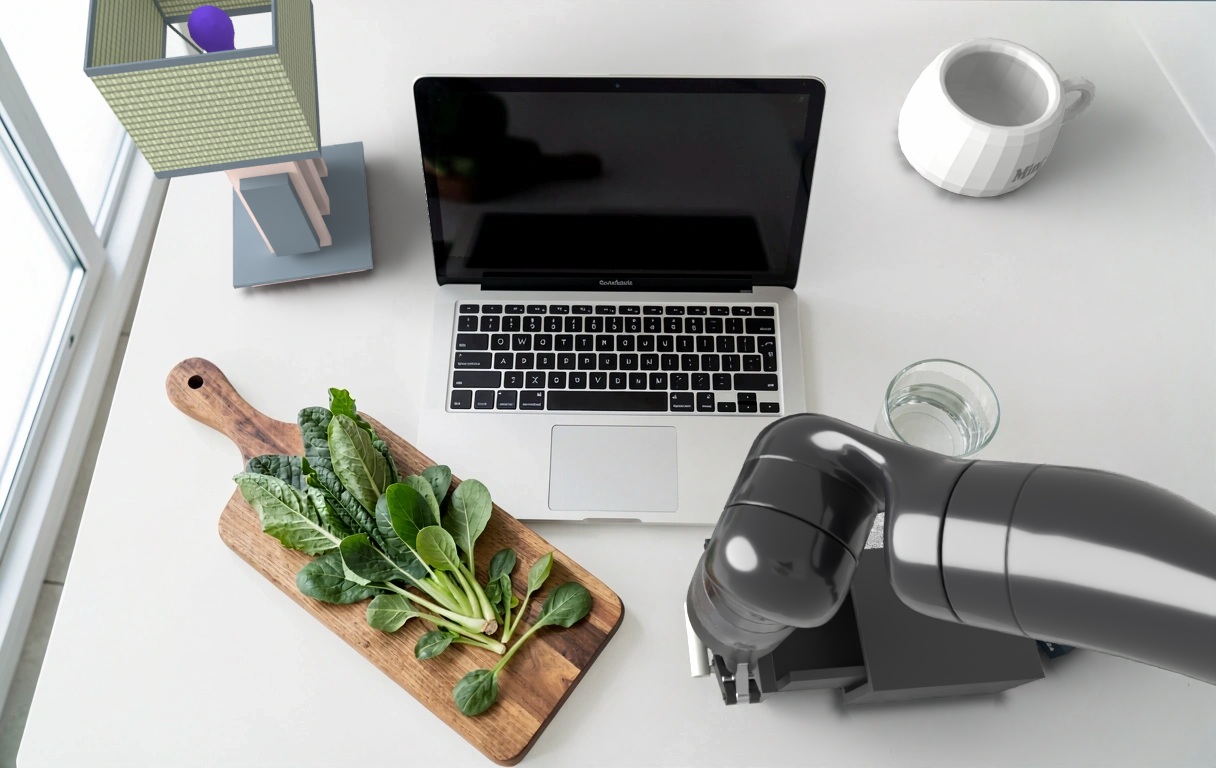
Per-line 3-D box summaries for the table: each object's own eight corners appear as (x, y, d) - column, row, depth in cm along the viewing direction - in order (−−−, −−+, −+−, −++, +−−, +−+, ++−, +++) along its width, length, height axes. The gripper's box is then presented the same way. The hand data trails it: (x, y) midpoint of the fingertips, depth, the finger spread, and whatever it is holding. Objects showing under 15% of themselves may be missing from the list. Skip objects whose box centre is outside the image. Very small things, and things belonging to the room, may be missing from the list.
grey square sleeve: (843, 704, 77) (872, 691, 69) (820, 576, 82) (845, 550, 74) (998, 692, 78) (1045, 677, 70) (967, 565, 83) (1007, 538, 75)
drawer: (689, 708, 76) (698, 698, 70) (677, 591, 81) (684, 571, 74) (892, 692, 77) (920, 680, 70) (869, 577, 81) (893, 556, 75)
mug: (921, 217, 100) (954, 157, 91) (872, 103, 107) (897, 37, 98) (1100, 186, 102) (1149, 124, 93) (1040, 76, 109) (1080, 10, 100)
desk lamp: (378, 285, 95) (279, 46, 66) (241, 305, 94) (78, 70, 65) (366, 150, 103) (274, -117, 74) (240, 167, 102) (95, -98, 72)
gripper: (821, 691, 57) (773, 718, 73) (788, 493, 63) (750, 557, 79) (704, 701, 57) (681, 726, 73) (681, 500, 63) (664, 564, 78)
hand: (717, 638), depth 75 cm, fingers closed
